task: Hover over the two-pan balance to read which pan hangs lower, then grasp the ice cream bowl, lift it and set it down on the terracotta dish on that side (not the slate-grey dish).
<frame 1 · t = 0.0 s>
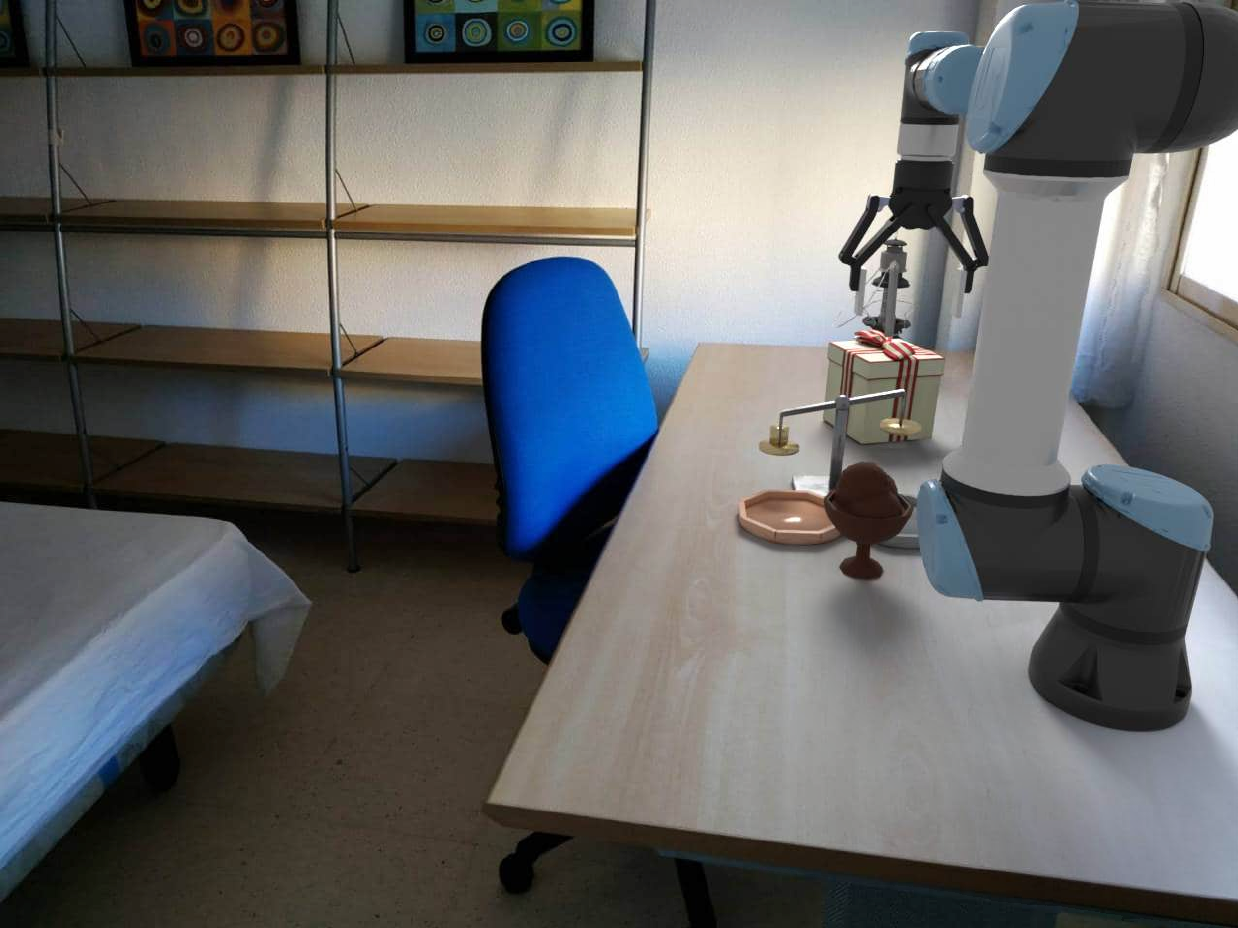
hand: (906, 315, 138), 28 cm above the table, fingers open, 13 cm apart
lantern: (874, 369, 216), on the table
terracotta dish: (791, 521, 140), on the table
ice cream bowl: (861, 570, 126), on the table
gift box: (880, 428, 179), on the table
balance: (833, 493, 150), on the table
slate dish: (898, 525, 139), on the table
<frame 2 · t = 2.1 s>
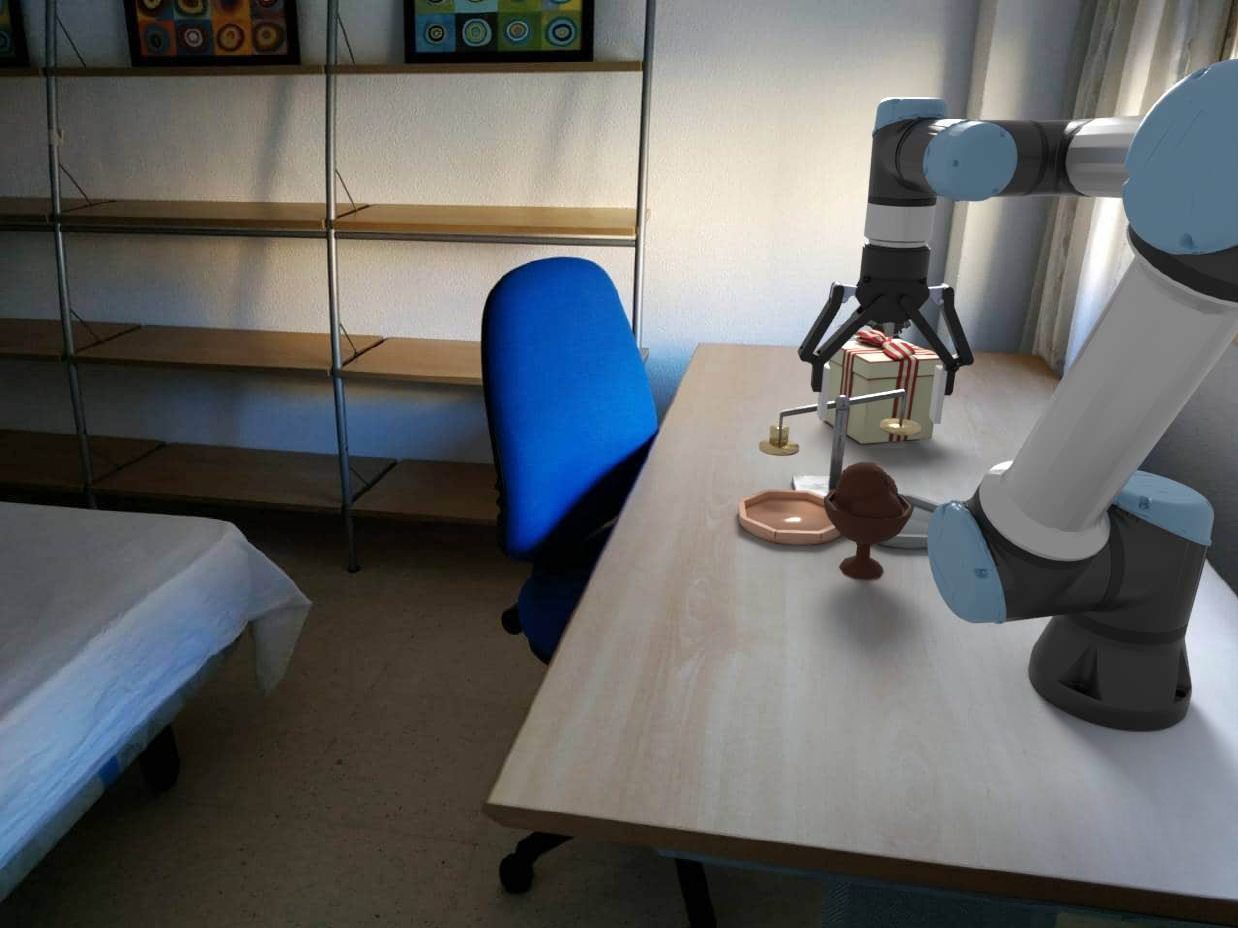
hand: (877, 419, 119), 20 cm above the table, fingers open, 13 cm apart
nothing on the table moved.
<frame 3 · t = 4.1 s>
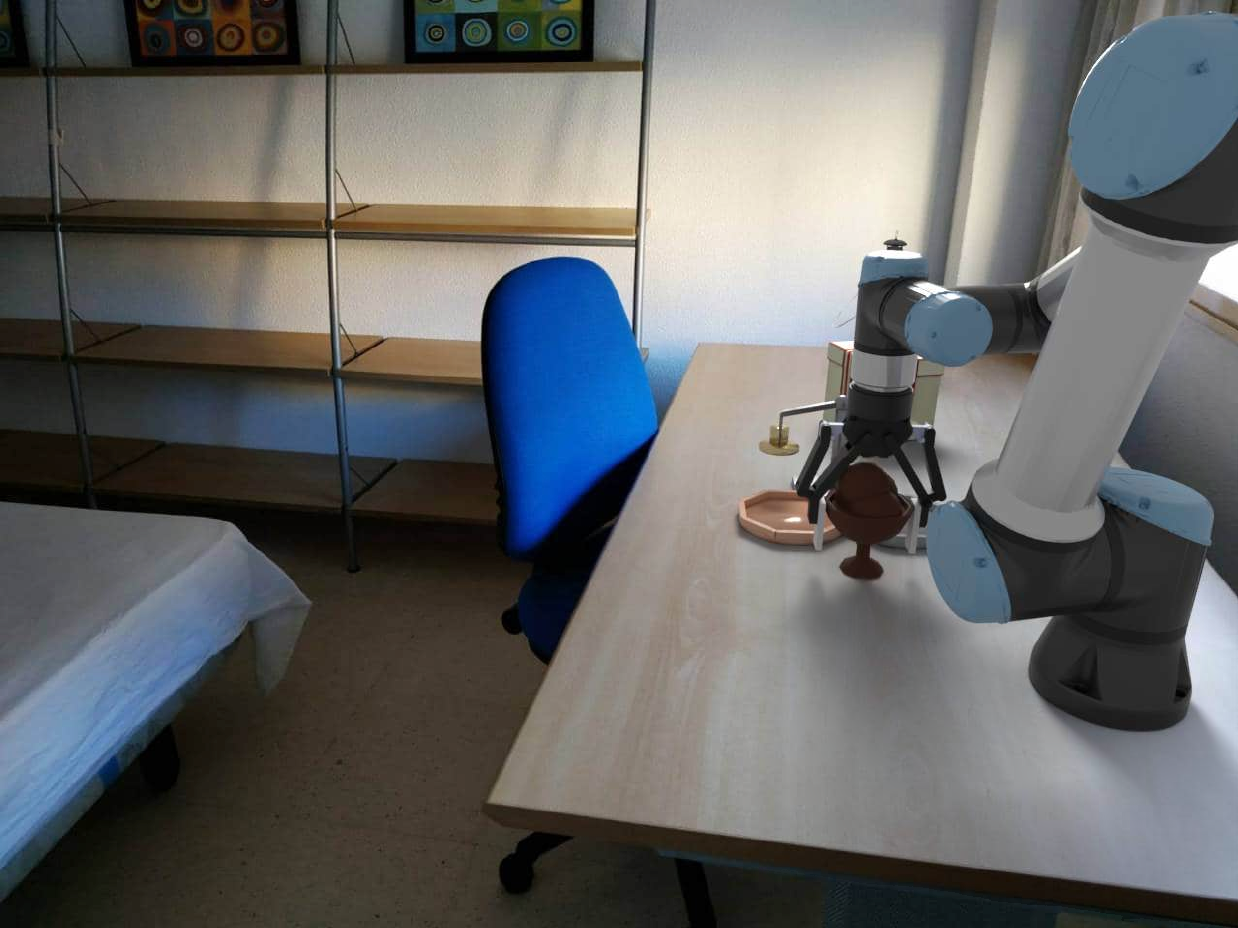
hand: (863, 547, 125), 3 cm above the table, fingers closed on ice cream bowl, 11 cm apart
ice cream bowl: (861, 570, 126), on the table, touching gripper
everything else where it was.
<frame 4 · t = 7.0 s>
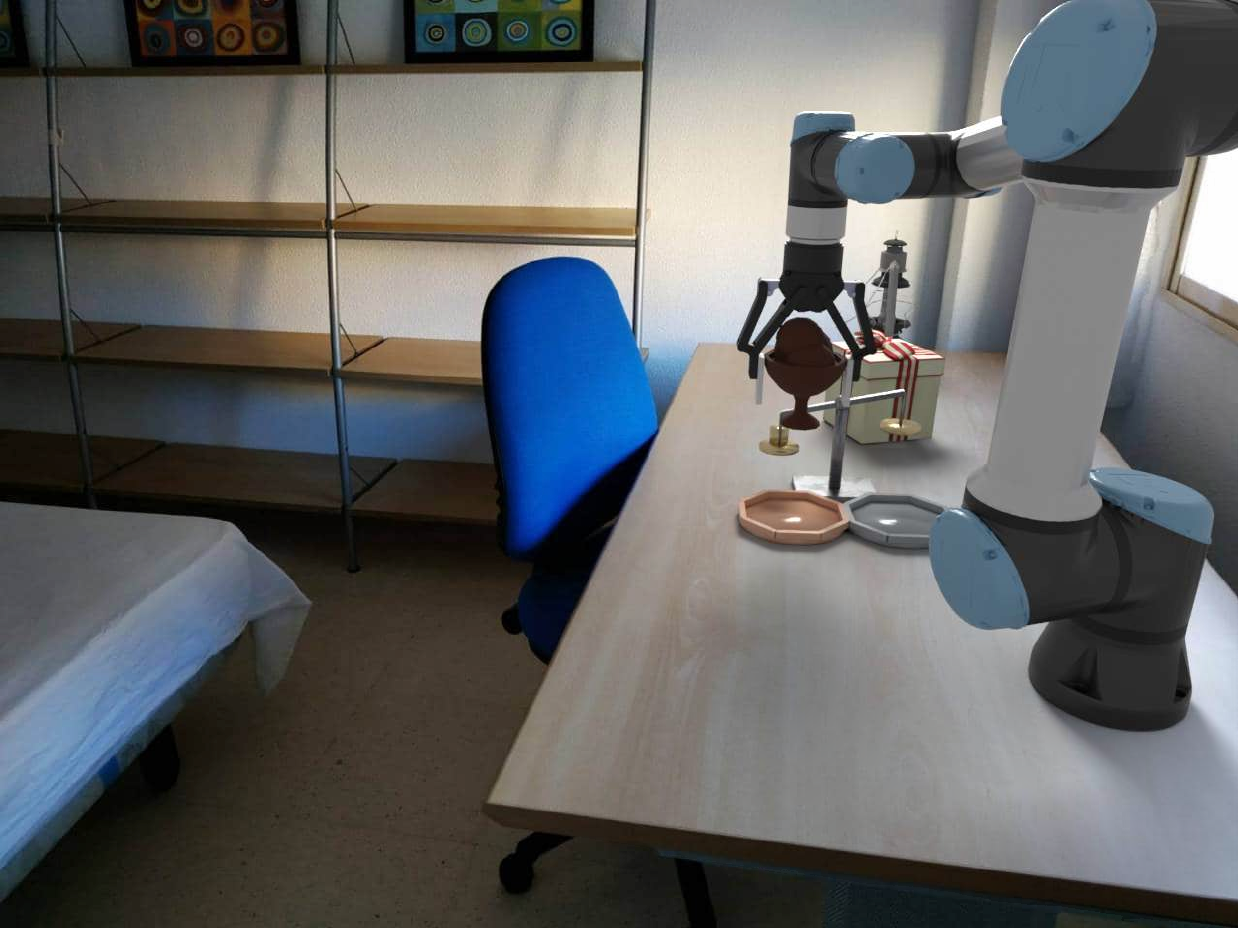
hand: (801, 402, 133), 18 cm above the table, fingers closed on ice cream bowl, 11 cm apart
ice cream bowl: (799, 425, 134), point 15 cm above the table, touching gripper
everything else where it was.
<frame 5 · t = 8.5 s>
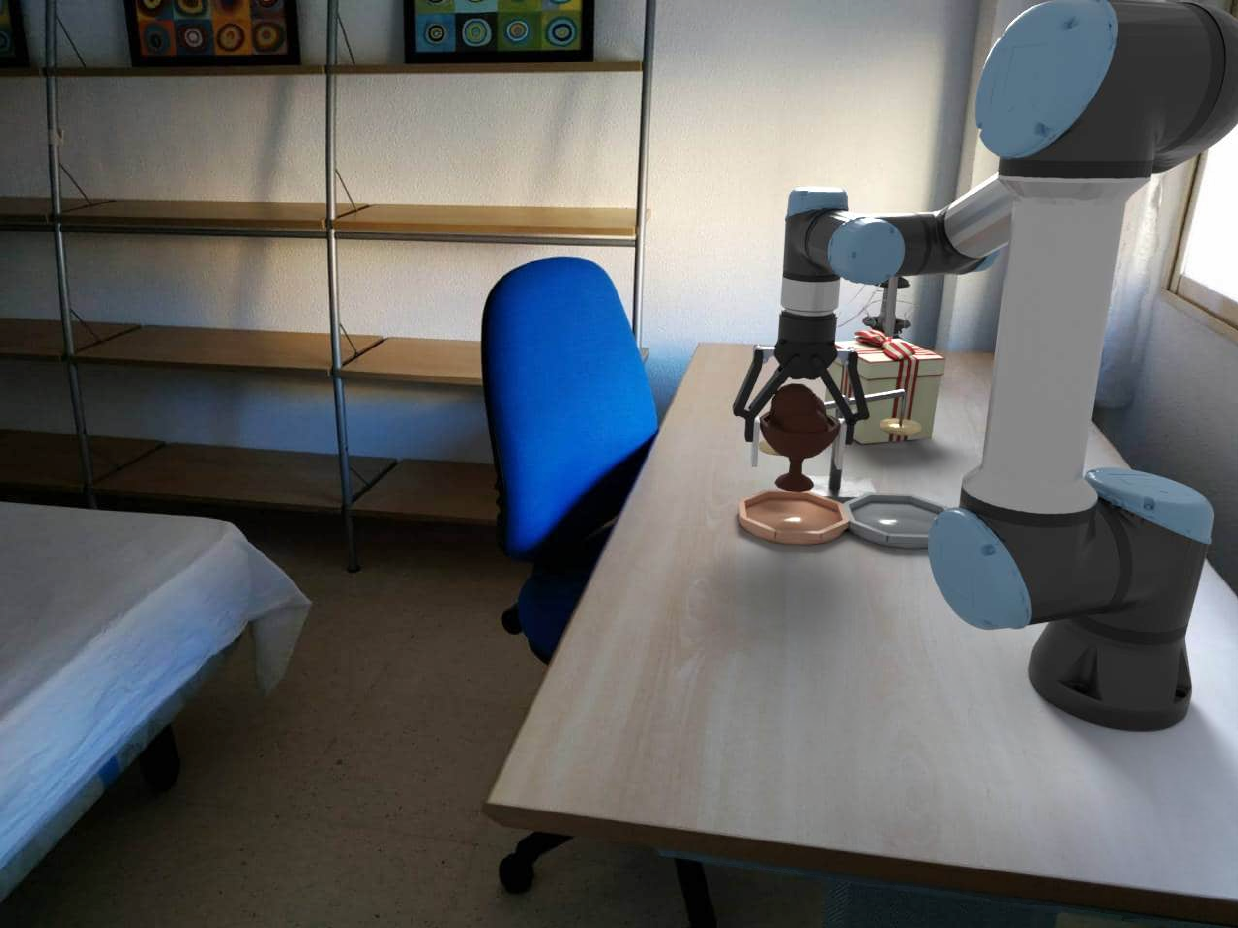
hand: (795, 464, 137), 9 cm above the table, fingers closed on ice cream bowl, 11 cm apart
ice cream bowl: (794, 485, 138), point 6 cm above the table, touching gripper
everything else where it was.
when the fingers open (6 cm above the table, at t = 9.7 s): ice cream bowl drops 2 cm, resting on terracotta dish.
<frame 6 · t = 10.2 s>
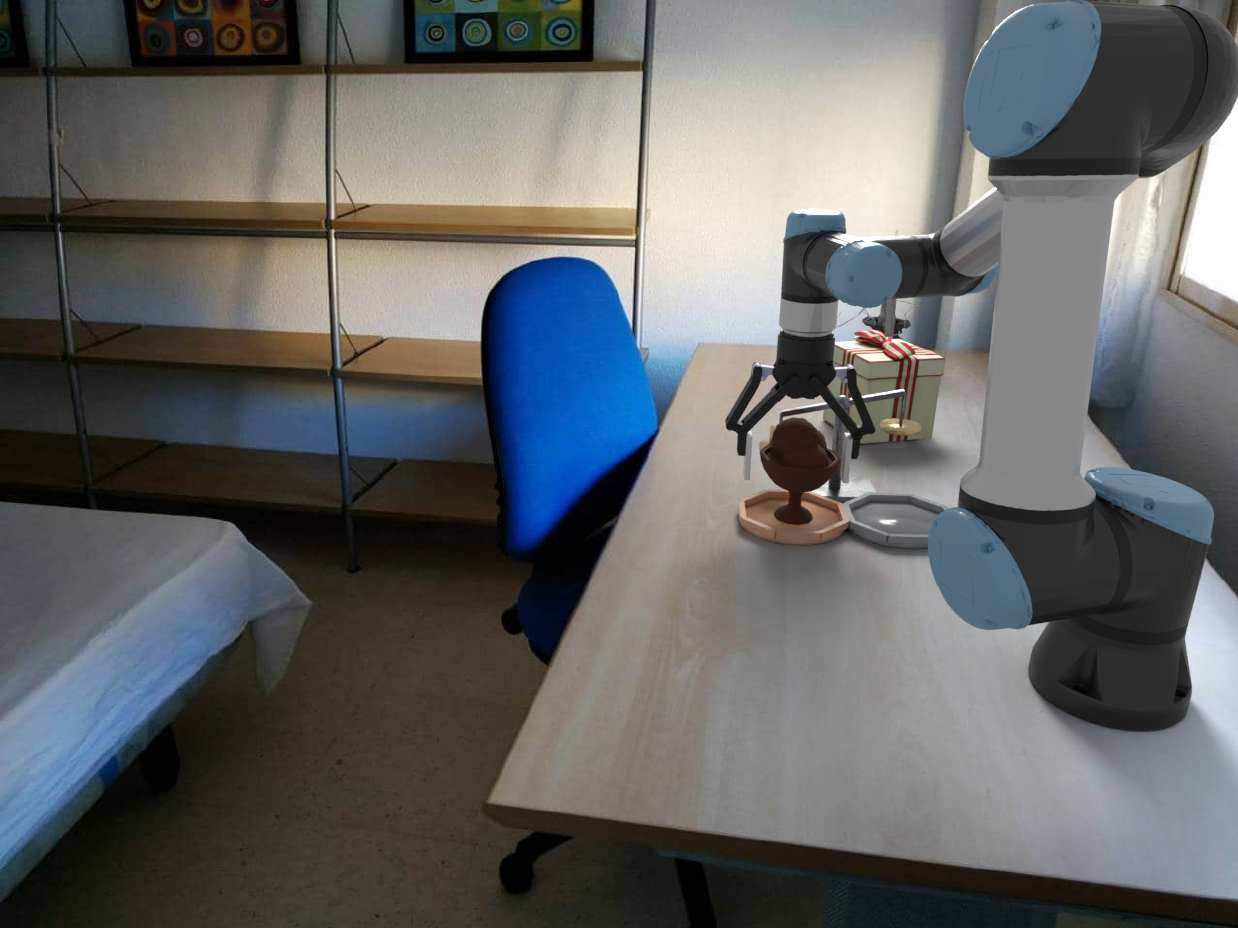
hand: (795, 478, 137), 7 cm above the table, fingers open, 13 cm apart
ice cream bowl: (793, 517, 139), point 1 cm above the table, touching terracotta dish
everything else where it was.
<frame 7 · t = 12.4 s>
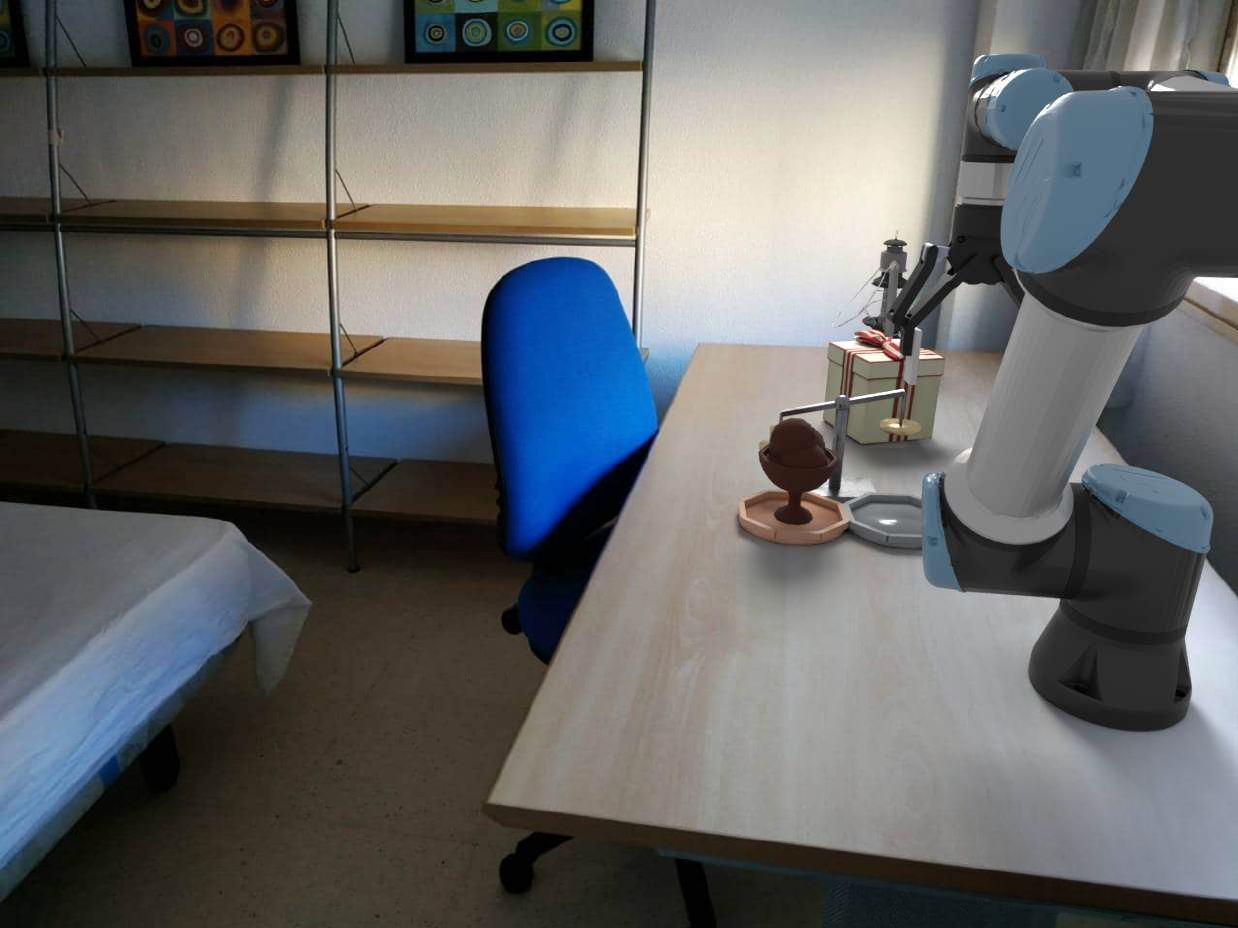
hand: (965, 383, 118), 25 cm above the table, fingers open, 13 cm apart
nothing on the table moved.
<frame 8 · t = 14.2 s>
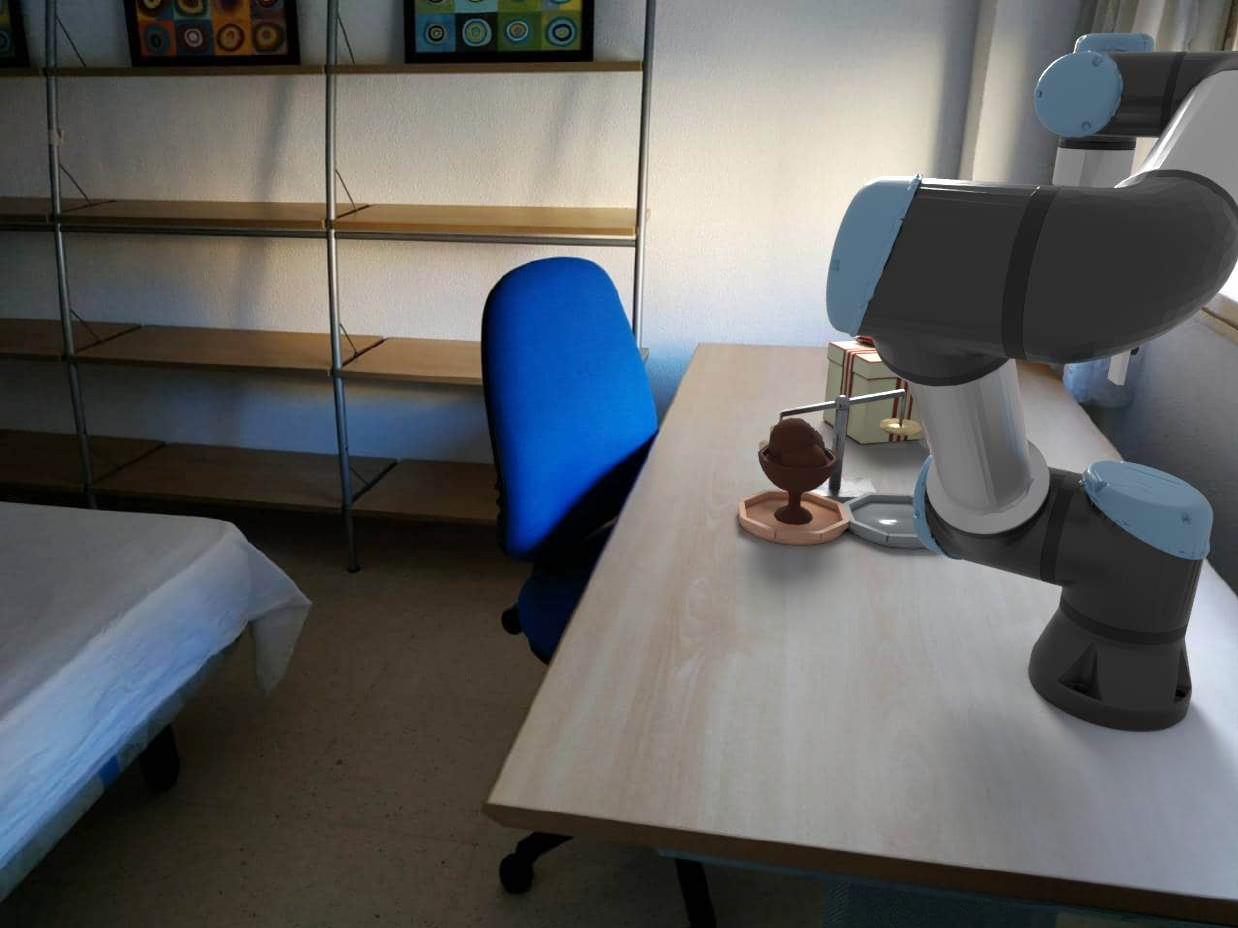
hand: (1054, 380, 113), 27 cm above the table, fingers open, 13 cm apart
nothing on the table moved.
at the end: ice cream bowl 0.2 cm from the terracotta dish (horizontally); ice cream bowl point 0.6 cm above the table; ice cream bowl tilted 0° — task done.
